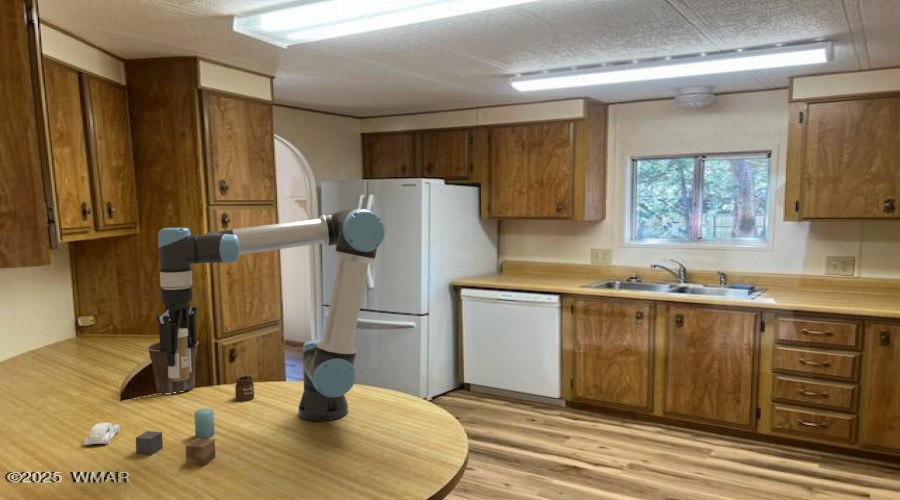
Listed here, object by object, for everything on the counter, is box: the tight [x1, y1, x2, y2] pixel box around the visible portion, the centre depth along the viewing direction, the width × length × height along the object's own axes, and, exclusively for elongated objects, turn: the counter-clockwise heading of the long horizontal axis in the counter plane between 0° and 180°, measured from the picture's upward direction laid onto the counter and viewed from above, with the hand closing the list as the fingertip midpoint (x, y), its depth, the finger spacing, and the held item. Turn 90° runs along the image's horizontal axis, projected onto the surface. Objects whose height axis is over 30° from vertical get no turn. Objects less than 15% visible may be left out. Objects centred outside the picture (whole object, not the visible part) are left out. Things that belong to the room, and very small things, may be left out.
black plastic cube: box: [135, 430, 164, 456], centre depth 160 cm, size 4×4×4 cm
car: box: [82, 422, 122, 447], centre depth 168 cm, size 12×6×5 cm, turn 9°
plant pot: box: [146, 340, 199, 395], centre depth 210 cm, size 16×16×16 cm
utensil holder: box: [234, 360, 255, 402], centre depth 201 cm, size 6×6×12 cm
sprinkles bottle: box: [171, 328, 190, 381], centre depth 158 cm, size 5×5×13 cm
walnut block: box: [185, 437, 216, 467], centre depth 154 cm, size 5×5×5 cm
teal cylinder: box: [194, 408, 216, 439], centre depth 170 cm, size 5×5×7 cm
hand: (180, 374), depth 158 cm, fingers closed on sprinkles bottle, 4 cm apart
